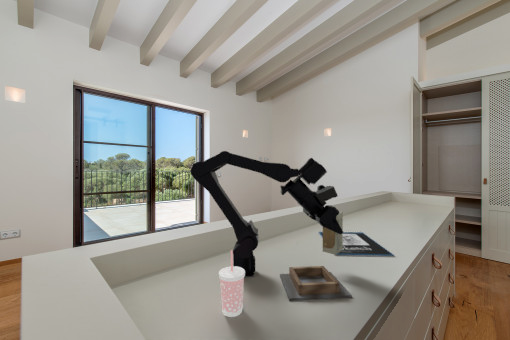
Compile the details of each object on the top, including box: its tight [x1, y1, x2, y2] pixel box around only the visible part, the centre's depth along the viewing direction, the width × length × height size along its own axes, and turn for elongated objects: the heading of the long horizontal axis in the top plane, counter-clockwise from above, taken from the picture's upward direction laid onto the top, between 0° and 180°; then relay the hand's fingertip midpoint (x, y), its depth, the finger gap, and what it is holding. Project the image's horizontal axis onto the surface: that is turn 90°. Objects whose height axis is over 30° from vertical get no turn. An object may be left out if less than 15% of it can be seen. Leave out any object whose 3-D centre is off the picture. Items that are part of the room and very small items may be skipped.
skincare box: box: [322, 211, 344, 256], centre depth 71 cm, size 6×4×12 cm
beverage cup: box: [218, 249, 245, 318], centre depth 52 cm, size 6×6×14 cm
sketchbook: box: [318, 230, 395, 258], centre depth 98 cm, size 22×30×2 cm
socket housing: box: [279, 265, 353, 302], centre depth 62 cm, size 16×13×3 cm
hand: (336, 230), depth 71 cm, fingers closed on skincare box, 7 cm apart
